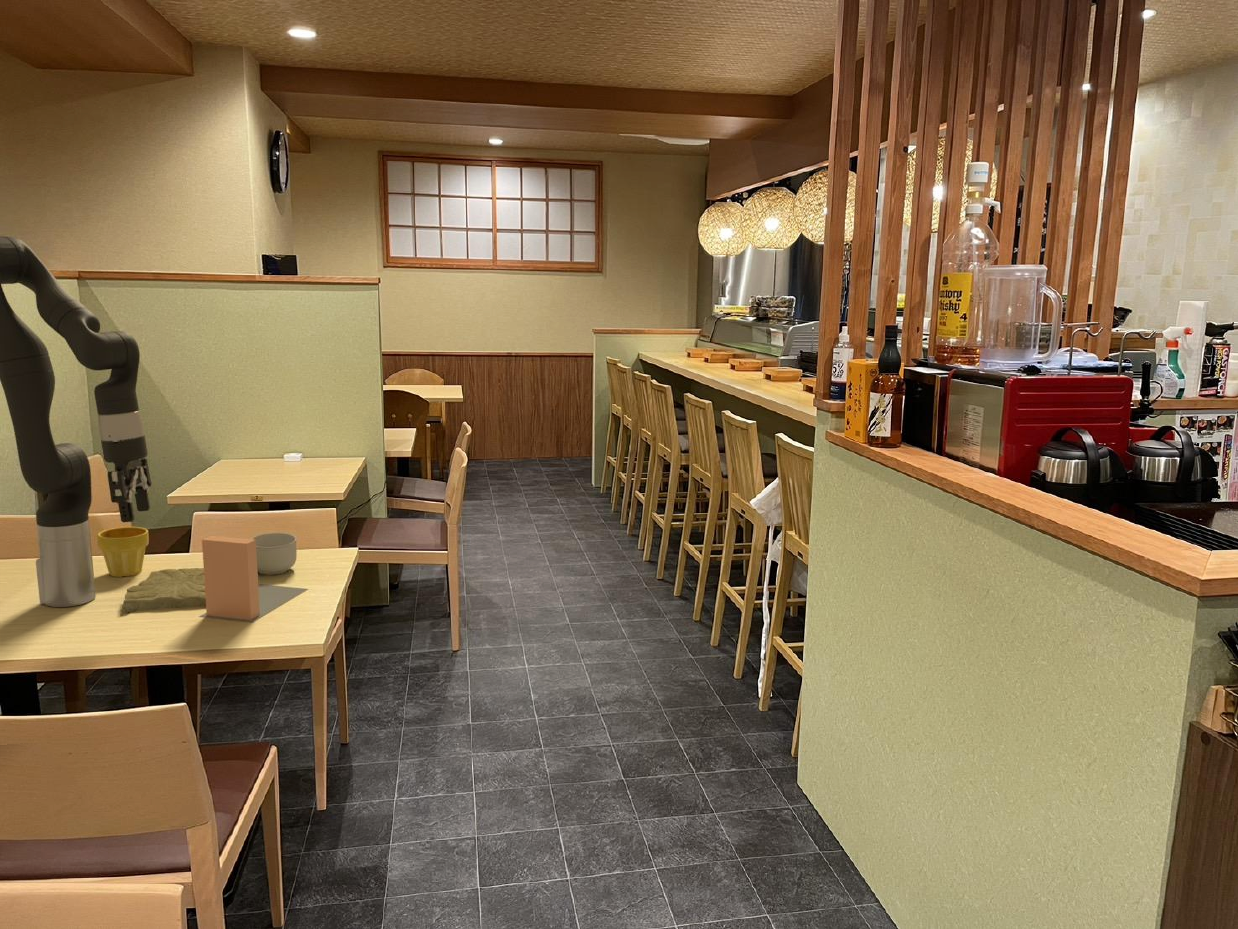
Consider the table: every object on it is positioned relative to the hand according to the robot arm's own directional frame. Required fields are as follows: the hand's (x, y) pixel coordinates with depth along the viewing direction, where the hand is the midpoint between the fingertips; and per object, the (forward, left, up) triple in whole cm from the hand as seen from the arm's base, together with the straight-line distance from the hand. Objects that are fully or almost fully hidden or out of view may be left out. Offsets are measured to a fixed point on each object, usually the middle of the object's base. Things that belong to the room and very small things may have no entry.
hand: (136, 516), depth 176 cm
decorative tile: (0, +14, -22) cm, 26 cm away
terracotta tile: (+17, +2, -21) cm, 27 cm away
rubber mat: (+19, +10, -21) cm, 30 cm away
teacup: (+12, +32, -21) cm, 40 cm away
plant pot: (-19, +27, -21) cm, 39 cm away
